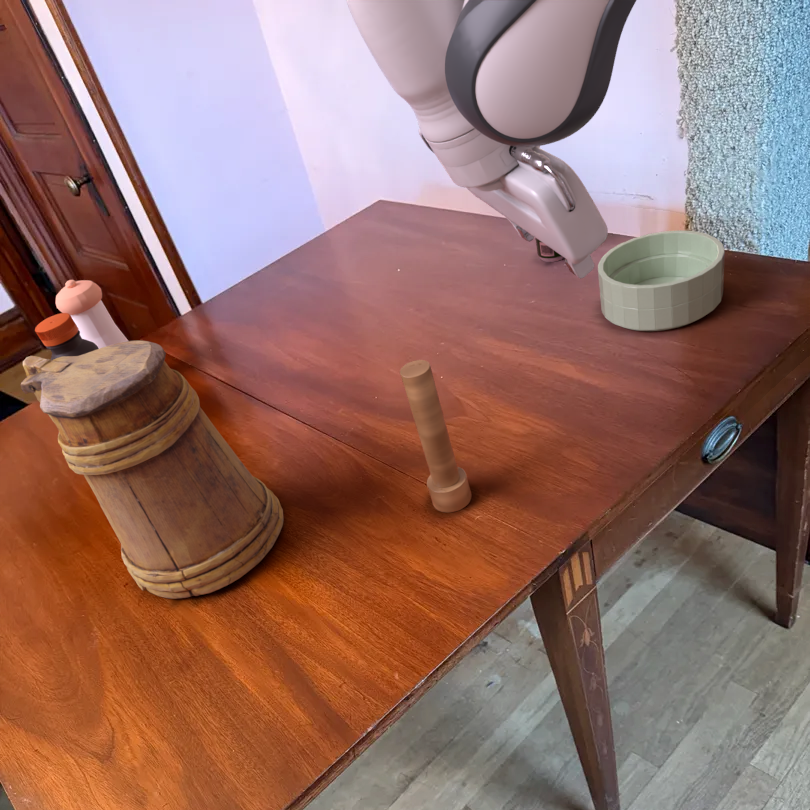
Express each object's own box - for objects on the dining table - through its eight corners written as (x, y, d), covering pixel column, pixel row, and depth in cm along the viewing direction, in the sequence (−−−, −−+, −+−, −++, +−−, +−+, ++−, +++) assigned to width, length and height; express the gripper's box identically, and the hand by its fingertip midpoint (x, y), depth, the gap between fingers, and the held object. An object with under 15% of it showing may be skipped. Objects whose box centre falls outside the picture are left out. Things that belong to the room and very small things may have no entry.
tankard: (230, 615, 79) (107, 424, 62) (79, 583, 90) (-60, 413, 73) (312, 500, 89) (225, 311, 73) (168, 484, 100) (64, 316, 84)
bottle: (136, 423, 115) (64, 305, 102) (157, 435, 111) (84, 313, 97) (99, 448, 112) (20, 330, 99) (119, 462, 108) (39, 340, 95)
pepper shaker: (103, 400, 124) (36, 293, 111) (131, 375, 128) (70, 269, 115) (133, 402, 120) (67, 293, 108) (161, 377, 124) (101, 268, 112)
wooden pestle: (479, 497, 82) (446, 364, 71) (448, 518, 81) (409, 386, 70) (455, 480, 85) (420, 350, 74) (425, 501, 84) (384, 372, 73)
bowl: (748, 290, 98) (751, 242, 93) (665, 346, 93) (664, 298, 89) (656, 266, 108) (654, 222, 104) (578, 315, 104) (573, 271, 100)
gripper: (588, 133, 53) (650, 269, 63) (462, 76, 67) (529, 194, 77) (519, 197, 54) (591, 322, 64) (410, 128, 68) (482, 238, 78)
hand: (556, 252), depth 70 cm, fingers open, 8 cm apart
